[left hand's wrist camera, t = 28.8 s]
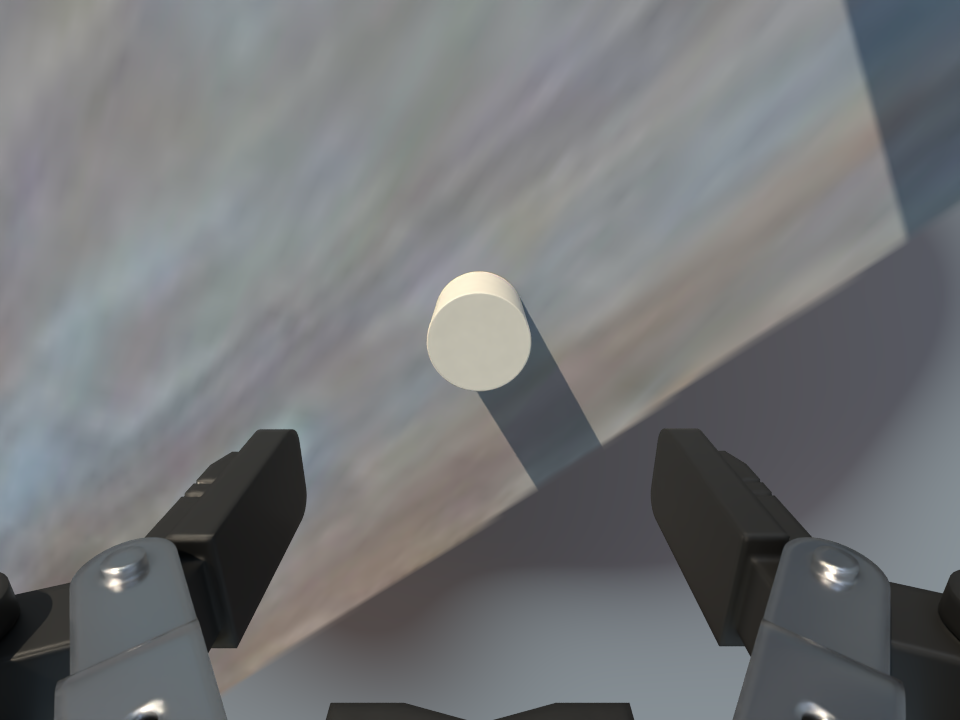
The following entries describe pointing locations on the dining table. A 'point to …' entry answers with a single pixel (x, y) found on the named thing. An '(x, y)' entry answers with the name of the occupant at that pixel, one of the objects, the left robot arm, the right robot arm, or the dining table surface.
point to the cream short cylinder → (479, 332)
